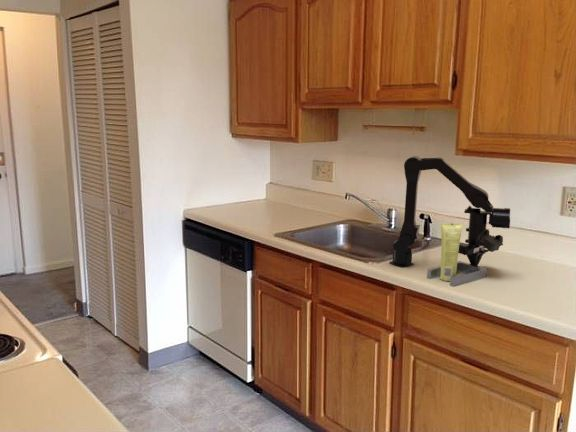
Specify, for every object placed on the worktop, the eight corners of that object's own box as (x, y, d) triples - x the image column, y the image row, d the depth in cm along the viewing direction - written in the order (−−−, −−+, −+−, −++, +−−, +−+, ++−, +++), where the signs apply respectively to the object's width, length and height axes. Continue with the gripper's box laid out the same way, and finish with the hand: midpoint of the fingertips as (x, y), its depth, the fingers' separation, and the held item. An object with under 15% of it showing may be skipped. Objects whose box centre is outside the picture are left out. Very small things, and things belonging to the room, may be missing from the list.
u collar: (426, 277, 181) (427, 269, 180) (459, 269, 191) (459, 261, 190) (453, 286, 172) (454, 277, 171) (486, 276, 182) (486, 268, 181)
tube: (445, 275, 183) (448, 220, 179) (459, 278, 179) (463, 222, 175) (437, 279, 179) (440, 223, 175) (451, 282, 175) (455, 225, 171)
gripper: (481, 234, 172) (477, 280, 175) (514, 226, 182) (510, 270, 186) (453, 228, 181) (450, 271, 184) (486, 221, 191) (482, 262, 194)
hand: (474, 269), depth 187 cm, fingers closed
